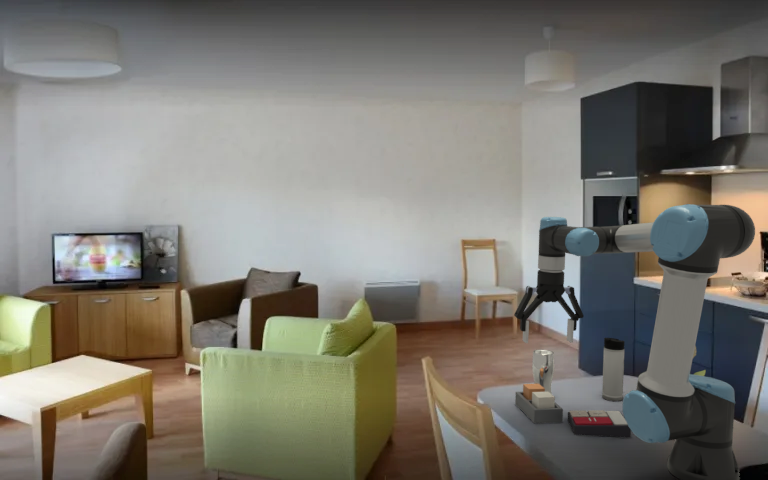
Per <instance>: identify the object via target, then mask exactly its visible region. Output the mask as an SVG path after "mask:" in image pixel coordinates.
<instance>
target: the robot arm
mask: <svg viewBox="0 0 768 480" xmlns="http://www.w3.org/2000/svg"><path fill="white" fill-rule="evenodd" d="M755 236H756V227H755V223H754V221H753V219H752V217H751V216H750V215H749V213H747V212H746V211H745V210H744V209H742V208H740V207H738V206H735V205H729V204H692V203H691V204H689V203H686V204H682V205H674V206H670V207H668V208H666V209H665V210H663V211H662V212H661V213H659V214H658V216H657V217H656V218H655V220H654V221H653V222H644V223H642V222H641V223H633V224H625V225H623V224H622V225H612V226H610V225H609V226H568V221H567V218H565V217H562V216H560V217H559V216H544V217H542V218H541V219H540V221H539V229H538V254H537V255H538V259H537V269H539V270H537V274H536V275H537V278H536V279H537V280H536V287H534V286H530V285H527V286H525V293H524V295H523V297H522V299H521V301H520V303H519V304H518V306H517V308H516V310H515V312H514V314H513V316H514V317H515V318H516V319H519V329H520V331H521V332H522V342H523V343H525V344H529V333H530V332H529V331H530V330H529V329H530V321H529V318H530V316H531V315H532V314H533V313H534V312H535V311H536V309H538V308H539V307H540V305H542V304H543V303H550V302H551V303H557V302H558V304H559V305H560V306H561V307H562V309H563V310H564V311H565V312H566V314H567V315H568V316H569V317H570V318H567V327H566V341H567V342H569V343H574V331H577V324H578V323H577V322H579V319H583V318H584V313H583V311H582V309H581V306H580V304H579V301H578V300H577V297H576V295H575V294H576V293H575V287H573V286H571V285H567V286H564V285H565V283H564V282H565V272H564V270H565V269H566V266H565V265H566V254H569V255H573V256H575V257H591V256H592V255H597V254H624V253H625V254H626V253H646V252H654V254H655V255H656V256H657V257H658V260H657V264H658V266H659V267H660V268H661V269H662V271H663V274H662V275H663V276H662V281H661V288H660V293H659V299H658V304H657V312H656V316H655V323H654V328H653V333H652V340H651V346H650V350H649V356H648V357H649V358H648V363H647V367H646V368H647V369H646V371H643V372H642V373H640V374H639V375H638V377H637V383H636V388H635V390H631V391H629V392H628V393H626V394H625V395H624V396H623V399H622V415H623V416H624V418H625V420H626V422H627V424H628V426H629V428H630V429H631V432H632V434H634V436H636V437H637V438H638V439H639V440H641V441H643V442H646V443H648V444H649V443H650V444H655V443H660V444H661V443H662V444H663V443H667V442H668V441H674V444H673V445H672V447H671V451H670V453H669V455H668V457H667V470H668V472H669V473H670V474H671V475H673V476H674V477H675V478H677V479H678V480H740V477H739V476H740V475H741V474H740V473H739V472H740V468H739V465H738V463H737V459H736V456H735V452H734V449H733V439H734V438H733V437H734V419H735V404H736V401H735V389H734V387H733V386H732V385H731V384H729V383H728V382H725V381H723V380H720V379H717V378H714V377H710V376H705V375H704V376H700V375H694V374H692V373H691V369H692V364H693V359H694V358H693V354H694V349H695V346H696V342H697V338H698V337H697V336H698V333H699V327H700V321H701V316H702V312H703V306H704V300H705V294H706V289H707V285H708V284H707V283H708V279H710V278H712V276H714V275H716V274H718V271H719V270H718V269H719V265H720V260H721V259H727V258H734V257H736V256H738V255H741V254H743V253H745V252H746V251H747V250H748V249H749V248H750V247H751V245H752V244H753V242H754V239H755ZM535 293H536V294H537V295H536V296H535V297H534V300H533V301H532V302H531V303H530V301H531V299H532V297H533V295H534V294H535ZM564 293H565V294H566V295H567V297H568V300H569V302H570V304H571V306H572V308H573V309H571V307H570V305H568V303H567V302H566V300H565V299H564V297H563V295H564ZM529 303H530V304H529ZM528 304H529V305H528Z"/></svg>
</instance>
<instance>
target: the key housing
mask: <svg viewBox="0 0 768 480" xmlns="http://www.w3.org/2000/svg"><path fill="white" fill-rule="evenodd" d="M514 396H515V397H514V398H515V400H514V401H515V406H517V408H519V410H520V409H521V410H522V411H523V412H524V413H525V414H526V415H527V416H528V417H529V418H530V419H531V420H530V419H529V418H528V417H527V418H528V419H529V420H530V422H532V423H533V424H534V423H536V424H554V423H553V422H559V423H563V421H564V418H563V416H564V408H563V407H561V406H560V405H559V404H558V403H557V402H555V408H543V409H536V408H535V407H534V406H533V405H532V400H527V399H526V398H525V397H524V396H523V391H515V395H514ZM523 412H522V413H523ZM524 413H523V414H524ZM525 414H524V415H525ZM526 415H525V416H526Z"/></svg>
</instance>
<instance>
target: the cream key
mask: <svg viewBox="0 0 768 480" xmlns="http://www.w3.org/2000/svg"><path fill="white" fill-rule="evenodd" d="M555 400H556V398H555V396H554V395H553V393H552V394H551V393H549V392H548V391H547V392H532V405H533V406H534V407H535V408H536V409H543V408H555V403H556V402H555Z"/></svg>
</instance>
